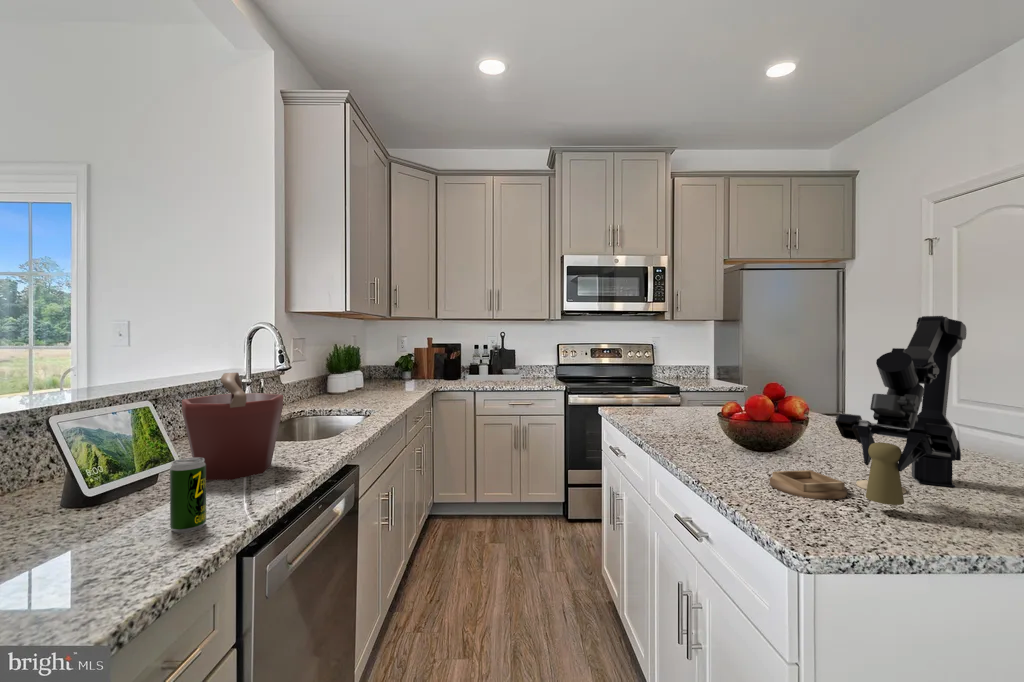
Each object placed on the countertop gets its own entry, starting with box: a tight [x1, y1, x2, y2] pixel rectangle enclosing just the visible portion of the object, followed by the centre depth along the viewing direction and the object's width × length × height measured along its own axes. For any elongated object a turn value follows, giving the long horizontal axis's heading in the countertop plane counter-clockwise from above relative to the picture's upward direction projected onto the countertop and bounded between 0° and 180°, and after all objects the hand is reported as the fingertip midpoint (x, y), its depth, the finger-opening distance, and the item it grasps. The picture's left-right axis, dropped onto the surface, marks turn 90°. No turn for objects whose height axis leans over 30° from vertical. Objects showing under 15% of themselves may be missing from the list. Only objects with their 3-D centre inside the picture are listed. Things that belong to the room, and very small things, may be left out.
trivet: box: [769, 469, 848, 500], centre depth 109 cm, size 15×15×3 cm
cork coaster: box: [856, 479, 907, 495], centre depth 110 cm, size 9×9×1 cm
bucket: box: [181, 372, 284, 481], centre depth 122 cm, size 24×22×25 cm
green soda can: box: [169, 457, 207, 534], centre depth 86 cm, size 5×5×12 cm
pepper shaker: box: [865, 442, 905, 506], centre depth 94 cm, size 6×6×11 cm
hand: (882, 466), depth 93 cm, fingers closed on pepper shaker, 5 cm apart
